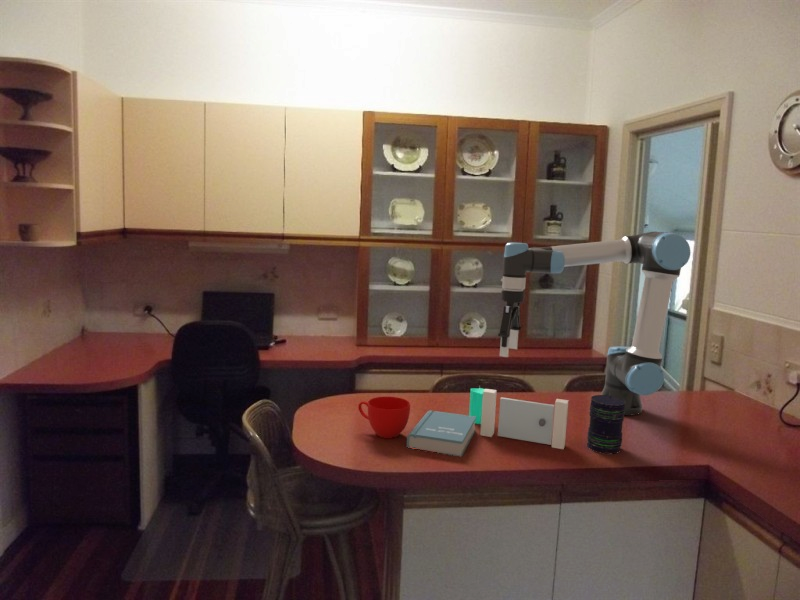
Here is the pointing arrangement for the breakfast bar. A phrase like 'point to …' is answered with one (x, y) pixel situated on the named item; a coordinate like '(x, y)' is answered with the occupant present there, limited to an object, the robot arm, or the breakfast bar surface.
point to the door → (525, 420)
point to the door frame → (558, 424)
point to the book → (442, 433)
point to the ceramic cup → (387, 415)
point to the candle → (476, 403)
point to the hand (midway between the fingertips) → (508, 352)
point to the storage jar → (606, 423)
